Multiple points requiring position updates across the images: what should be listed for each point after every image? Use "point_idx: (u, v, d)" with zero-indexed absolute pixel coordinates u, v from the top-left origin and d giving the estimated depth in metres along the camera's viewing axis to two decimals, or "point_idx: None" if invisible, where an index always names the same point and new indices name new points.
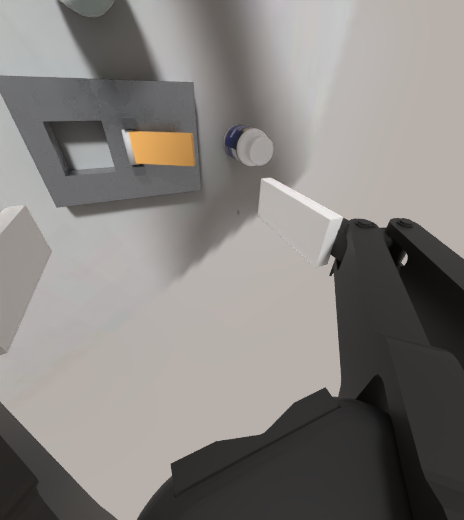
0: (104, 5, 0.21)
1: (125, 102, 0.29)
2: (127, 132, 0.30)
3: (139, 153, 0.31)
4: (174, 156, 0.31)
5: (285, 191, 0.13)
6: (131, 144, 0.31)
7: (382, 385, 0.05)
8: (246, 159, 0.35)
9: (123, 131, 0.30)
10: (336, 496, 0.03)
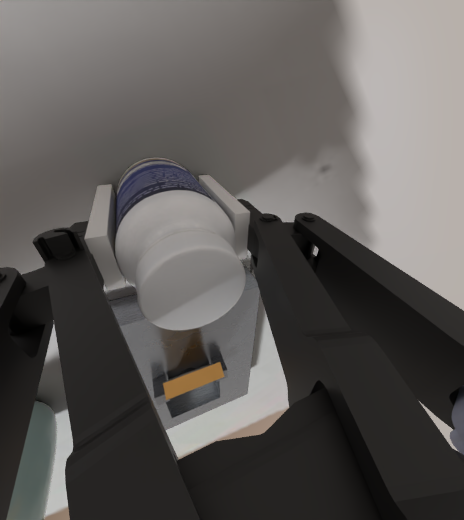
0: (27, 479, 0.16)
1: None
2: None
3: None
4: None
5: (212, 187, 0.13)
6: None
7: (324, 385, 0.05)
8: None
9: None
10: (336, 497, 0.03)
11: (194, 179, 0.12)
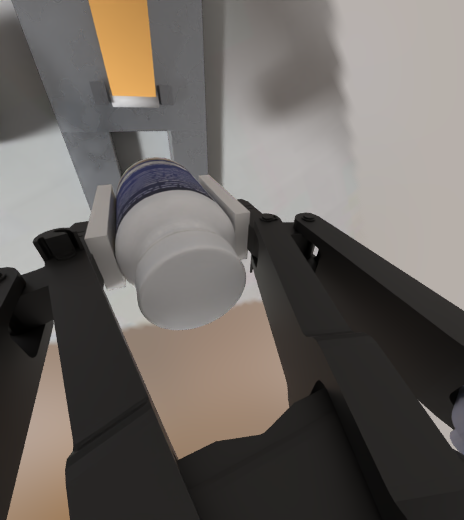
0: None
1: (73, 88, 0.21)
2: (113, 97, 0.21)
3: (140, 86, 0.21)
4: (131, 8, 0.17)
5: (212, 187, 0.13)
6: (129, 96, 0.21)
7: (324, 385, 0.05)
8: None
9: (113, 104, 0.21)
10: (336, 497, 0.03)
11: (194, 179, 0.12)
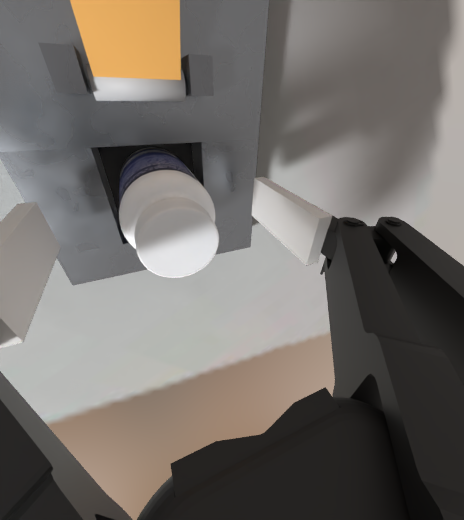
0: None
1: (11, 62, 0.10)
2: (96, 81, 0.10)
3: (150, 56, 0.10)
4: None
5: (277, 190, 0.13)
6: (129, 78, 0.11)
7: (375, 384, 0.05)
8: None
9: (97, 94, 0.11)
10: (336, 496, 0.03)
11: (183, 164, 0.14)
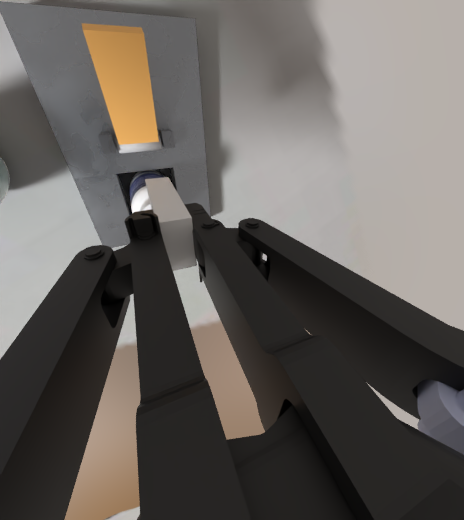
0: None
1: (83, 140, 0.22)
2: (120, 146, 0.23)
3: (144, 134, 0.23)
4: (135, 76, 0.18)
5: (165, 191, 0.12)
6: (134, 143, 0.23)
7: None
8: None
9: (120, 151, 0.23)
10: (336, 497, 0.03)
11: None
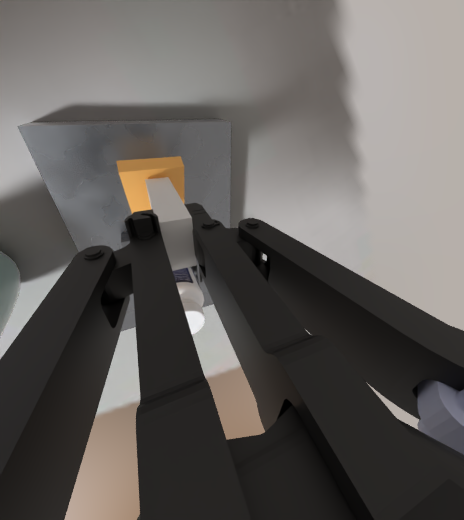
0: None
1: (103, 241, 0.20)
2: None
3: None
4: None
5: (165, 191, 0.12)
6: None
7: None
8: None
9: None
10: (336, 496, 0.03)
11: None
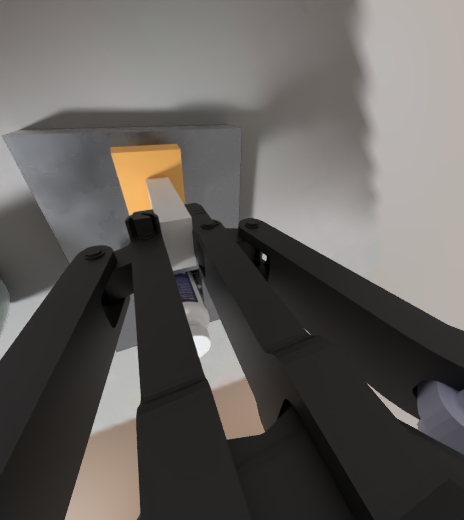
0: None
1: None
2: None
3: None
4: None
5: (165, 191, 0.12)
6: None
7: None
8: None
9: None
10: (336, 496, 0.03)
11: (188, 282, 0.23)
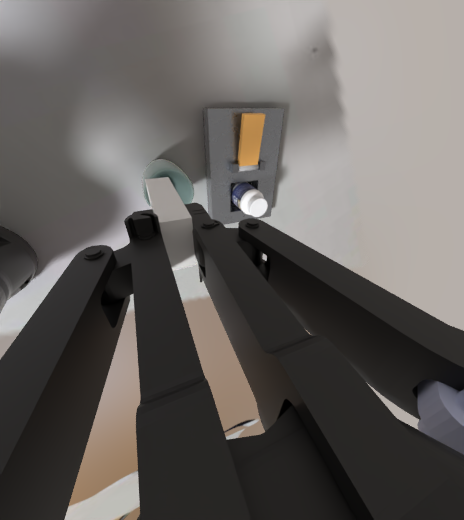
0: None
1: (221, 166, 0.43)
2: (239, 167, 0.43)
3: (252, 160, 0.43)
4: (256, 131, 0.40)
5: (165, 191, 0.12)
6: (246, 165, 0.43)
7: None
8: None
9: (239, 170, 0.43)
10: (335, 496, 0.03)
11: (252, 186, 0.48)
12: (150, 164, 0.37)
